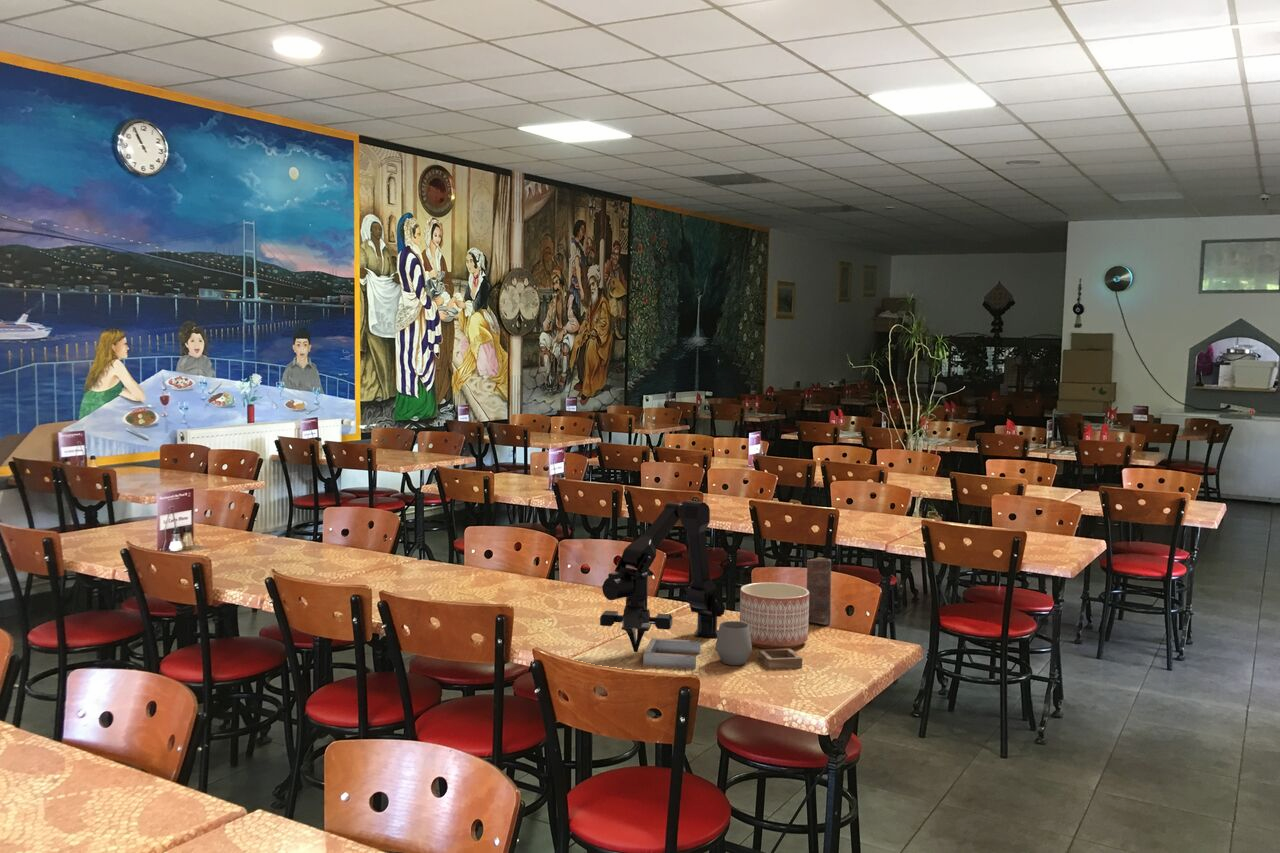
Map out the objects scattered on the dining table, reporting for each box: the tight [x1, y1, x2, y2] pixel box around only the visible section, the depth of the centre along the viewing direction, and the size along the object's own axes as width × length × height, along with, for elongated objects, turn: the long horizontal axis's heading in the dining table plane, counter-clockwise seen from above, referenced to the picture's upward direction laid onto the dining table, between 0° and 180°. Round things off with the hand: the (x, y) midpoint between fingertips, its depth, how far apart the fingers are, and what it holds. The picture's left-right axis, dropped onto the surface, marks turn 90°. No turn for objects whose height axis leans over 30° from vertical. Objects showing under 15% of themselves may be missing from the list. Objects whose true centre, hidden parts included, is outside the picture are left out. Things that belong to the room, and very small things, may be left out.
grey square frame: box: [642, 637, 702, 670], centre depth 262 cm, size 14×15×3 cm
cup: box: [715, 620, 753, 666], centre depth 260 cm, size 10×9×10 cm
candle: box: [806, 556, 832, 626], centre depth 300 cm, size 8×7×20 cm
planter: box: [739, 582, 809, 649], centre depth 280 cm, size 19×19×15 cm
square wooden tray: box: [757, 648, 803, 670], centre depth 260 cm, size 9×9×2 cm
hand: (635, 651), depth 264 cm, fingers closed
